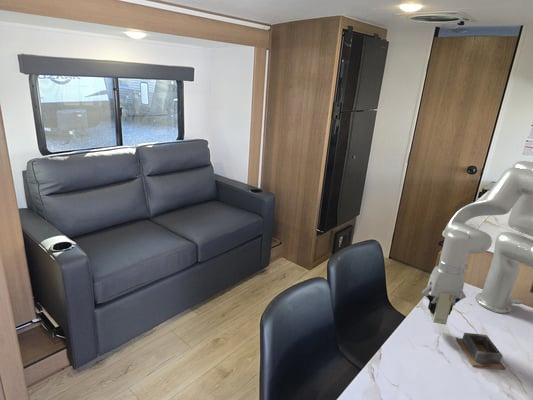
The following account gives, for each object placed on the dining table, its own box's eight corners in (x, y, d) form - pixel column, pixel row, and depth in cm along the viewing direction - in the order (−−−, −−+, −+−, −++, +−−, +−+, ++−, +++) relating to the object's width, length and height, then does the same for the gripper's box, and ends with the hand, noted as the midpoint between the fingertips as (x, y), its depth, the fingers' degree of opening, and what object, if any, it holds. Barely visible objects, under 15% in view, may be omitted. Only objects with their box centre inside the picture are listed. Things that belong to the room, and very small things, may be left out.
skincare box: (446, 325, 121) (454, 295, 116) (432, 323, 121) (440, 293, 117) (441, 313, 127) (449, 284, 122) (428, 311, 127) (436, 282, 123)
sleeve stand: (484, 342, 122) (488, 332, 121) (504, 369, 111) (508, 359, 109) (455, 339, 122) (458, 329, 121) (472, 366, 111) (476, 355, 110)
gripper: (471, 262, 120) (458, 307, 126) (421, 259, 121) (411, 303, 127) (482, 274, 113) (468, 321, 119) (429, 270, 114) (418, 316, 120)
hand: (439, 311), depth 123 cm, fingers closed on skincare box, 4 cm apart
